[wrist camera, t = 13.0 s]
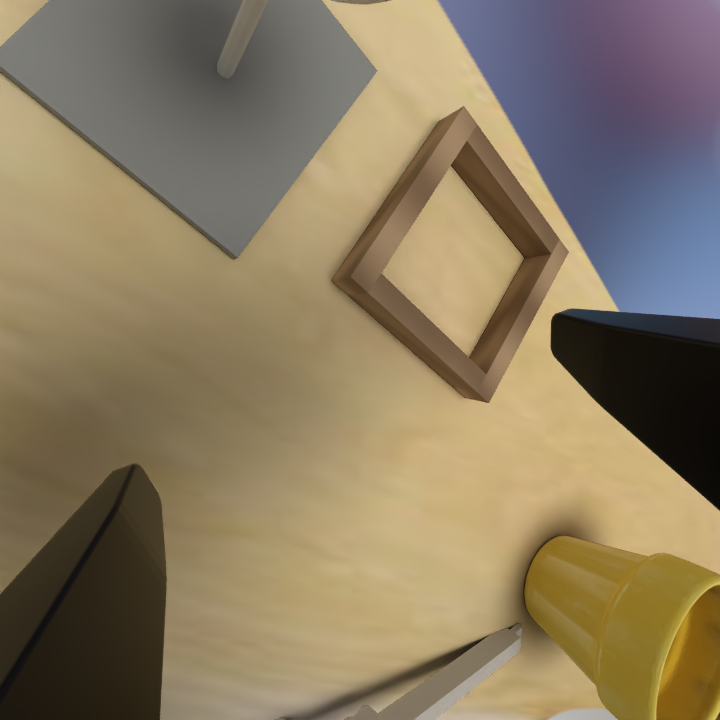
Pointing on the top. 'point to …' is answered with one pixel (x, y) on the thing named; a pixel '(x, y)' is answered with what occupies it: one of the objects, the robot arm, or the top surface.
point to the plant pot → (632, 626)
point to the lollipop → (250, 33)
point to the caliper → (450, 680)
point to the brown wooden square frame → (513, 214)
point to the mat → (194, 97)
